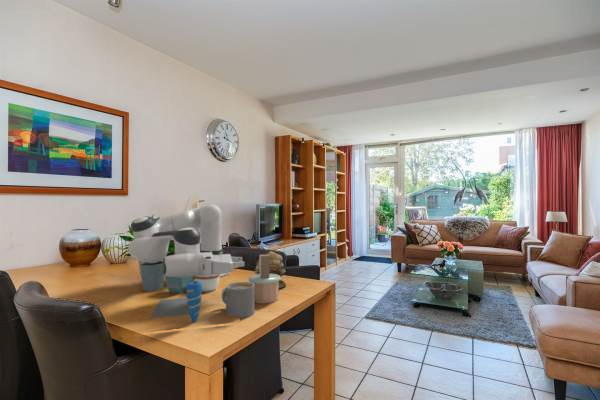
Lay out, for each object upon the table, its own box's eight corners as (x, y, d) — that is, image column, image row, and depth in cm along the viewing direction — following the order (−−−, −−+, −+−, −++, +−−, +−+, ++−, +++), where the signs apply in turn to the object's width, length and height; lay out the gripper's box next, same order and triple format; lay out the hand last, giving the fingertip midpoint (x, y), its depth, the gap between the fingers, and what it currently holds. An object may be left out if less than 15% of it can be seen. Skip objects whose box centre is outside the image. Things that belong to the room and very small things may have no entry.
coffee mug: (260, 312, 109) (259, 285, 109) (237, 321, 102) (237, 291, 102) (237, 304, 118) (237, 278, 118) (215, 311, 110) (214, 284, 111)
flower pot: (164, 294, 131) (164, 274, 131) (178, 289, 140) (177, 269, 140) (181, 296, 129) (181, 275, 129) (194, 290, 137) (194, 270, 137)
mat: (160, 301, 122) (160, 299, 122) (201, 298, 126) (201, 296, 126) (149, 320, 103) (149, 318, 103) (198, 315, 107) (198, 313, 107)
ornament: (182, 324, 99) (182, 278, 99) (195, 319, 104) (195, 275, 104) (192, 327, 96) (192, 280, 96) (205, 322, 101) (205, 277, 101)
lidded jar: (212, 295, 130) (212, 273, 130) (190, 294, 132) (190, 272, 132) (224, 288, 141) (223, 268, 141) (202, 287, 143) (202, 267, 143)
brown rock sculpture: (276, 282, 151) (276, 247, 152) (292, 286, 143) (292, 250, 143) (246, 289, 138) (246, 252, 138) (263, 295, 130) (263, 255, 130)
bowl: (249, 296, 128) (249, 277, 128) (275, 294, 131) (275, 275, 131) (252, 304, 117) (252, 284, 117) (280, 302, 120) (280, 282, 120)
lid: (247, 277, 129) (246, 253, 129) (277, 274, 132) (277, 252, 132) (250, 285, 116) (249, 259, 116) (283, 282, 120) (283, 257, 120)
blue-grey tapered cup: (165, 289, 140) (165, 263, 140) (140, 292, 135) (140, 265, 135) (163, 284, 148) (163, 259, 149) (140, 287, 143) (139, 262, 144)
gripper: (208, 266, 128) (241, 264, 132) (206, 277, 108) (245, 275, 112) (208, 251, 128) (241, 249, 132) (206, 260, 108) (245, 257, 112)
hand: (243, 261), depth 122 cm, fingers open, 8 cm apart
